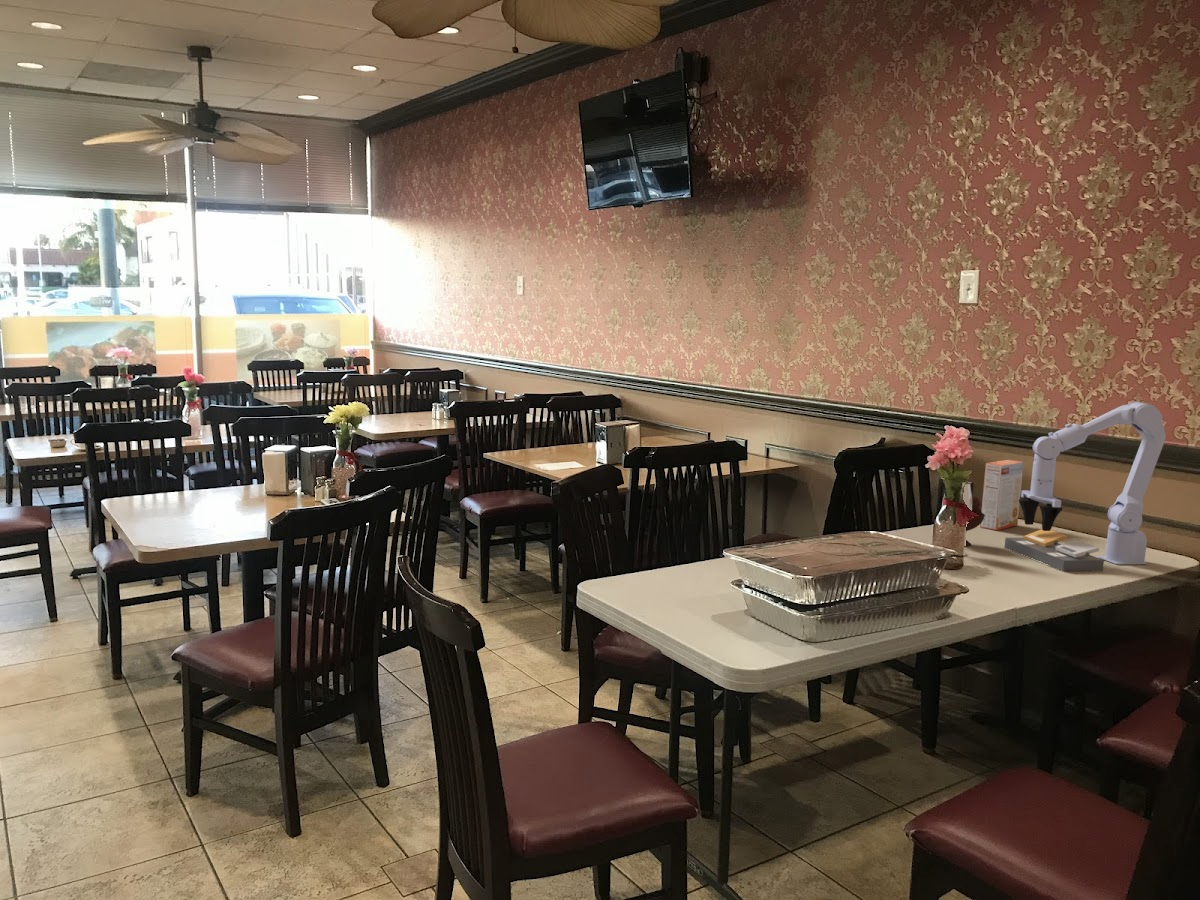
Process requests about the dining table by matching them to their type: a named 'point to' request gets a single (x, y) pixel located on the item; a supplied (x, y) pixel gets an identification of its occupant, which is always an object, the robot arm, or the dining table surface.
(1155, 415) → the robot arm
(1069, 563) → the rocker switch panel
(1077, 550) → the rocker
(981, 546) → the dining table surface
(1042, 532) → the plate
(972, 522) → the ice cream bowl
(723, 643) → the dining table surface
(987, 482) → the cracker box
